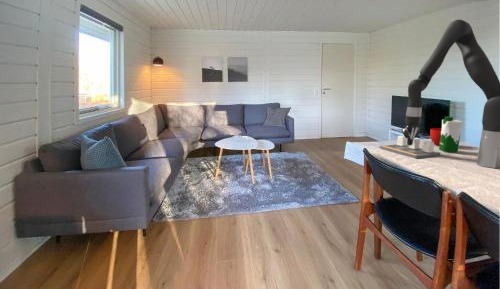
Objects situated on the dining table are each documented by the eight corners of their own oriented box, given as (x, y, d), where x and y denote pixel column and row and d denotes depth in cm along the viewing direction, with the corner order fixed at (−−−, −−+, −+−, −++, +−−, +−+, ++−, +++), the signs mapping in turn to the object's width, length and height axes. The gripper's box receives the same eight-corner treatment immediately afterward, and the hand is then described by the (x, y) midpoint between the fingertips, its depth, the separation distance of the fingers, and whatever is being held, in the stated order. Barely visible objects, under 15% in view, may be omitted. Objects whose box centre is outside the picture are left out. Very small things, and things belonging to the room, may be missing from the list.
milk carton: (436, 149, 176) (441, 116, 172) (453, 149, 174) (458, 116, 170) (442, 152, 168) (447, 117, 164) (460, 153, 166) (465, 118, 162)
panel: (440, 155, 161) (440, 152, 161) (415, 158, 155) (416, 155, 155) (402, 145, 185) (402, 143, 185) (379, 148, 179) (379, 145, 179)
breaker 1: (406, 145, 178) (407, 136, 177) (402, 146, 177) (403, 137, 176) (400, 144, 182) (401, 135, 181) (396, 144, 181) (397, 135, 180)
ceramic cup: (464, 147, 179) (466, 131, 177) (434, 147, 181) (436, 131, 179) (452, 143, 191) (454, 128, 189) (425, 142, 193) (426, 128, 191)
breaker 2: (433, 152, 161) (434, 142, 160) (428, 152, 160) (429, 142, 159) (426, 150, 165) (427, 140, 164) (421, 151, 164) (422, 141, 163)
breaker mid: (419, 148, 170) (420, 139, 169) (415, 149, 169) (416, 139, 167) (413, 147, 174) (414, 138, 173) (408, 147, 173) (409, 138, 171)
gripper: (410, 116, 160) (406, 147, 164) (428, 115, 164) (423, 145, 168) (399, 114, 167) (395, 144, 171) (416, 114, 171) (412, 143, 175)
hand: (409, 145), depth 169 cm, fingers closed
